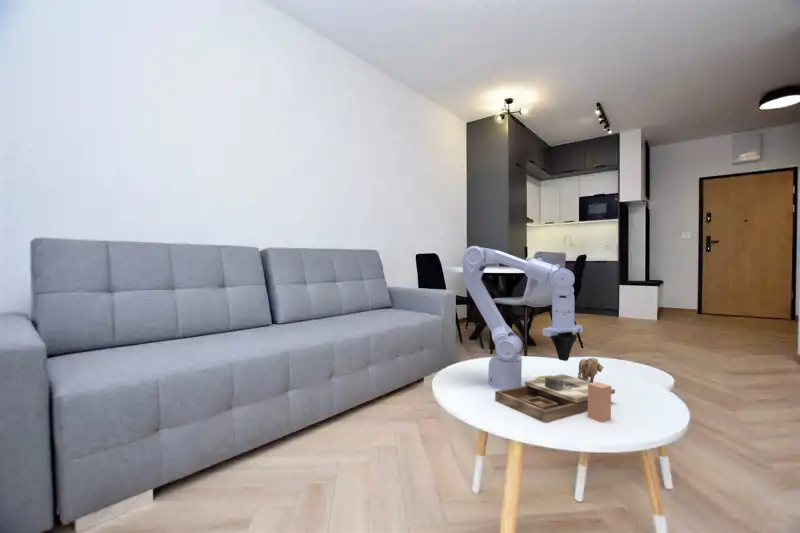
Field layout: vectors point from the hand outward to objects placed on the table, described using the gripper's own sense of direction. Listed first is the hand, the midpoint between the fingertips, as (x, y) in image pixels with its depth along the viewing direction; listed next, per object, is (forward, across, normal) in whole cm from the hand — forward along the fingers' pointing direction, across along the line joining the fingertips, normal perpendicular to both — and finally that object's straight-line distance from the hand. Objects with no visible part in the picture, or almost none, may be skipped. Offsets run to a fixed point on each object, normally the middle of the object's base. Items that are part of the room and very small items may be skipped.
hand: (563, 360), depth 105 cm
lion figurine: (+11, +19, +6) cm, 23 cm away
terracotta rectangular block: (+11, -6, -14) cm, 19 cm away
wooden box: (+10, -12, -2) cm, 16 cm away
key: (+11, +9, +11) cm, 18 cm away
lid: (+7, -1, -3) cm, 8 cm away
